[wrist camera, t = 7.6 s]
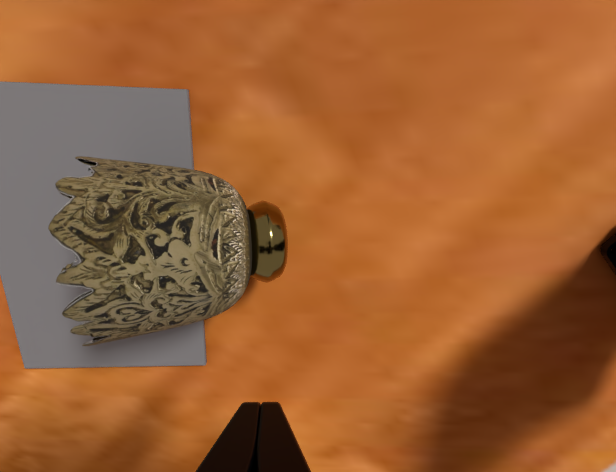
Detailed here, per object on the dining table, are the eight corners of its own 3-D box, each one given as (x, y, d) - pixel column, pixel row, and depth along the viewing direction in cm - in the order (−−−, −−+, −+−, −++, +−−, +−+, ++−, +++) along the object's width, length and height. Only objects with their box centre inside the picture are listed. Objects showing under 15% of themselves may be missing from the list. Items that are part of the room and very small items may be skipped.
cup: (265, 252, 22) (118, 260, 19) (273, 133, 17) (86, 127, 15) (291, 357, 16) (87, 386, 14) (313, 219, 12) (23, 229, 9)
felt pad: (188, 89, 16) (186, 89, 16) (206, 362, 21) (205, 365, 21) (-45, 80, 16) (-52, 79, 15) (28, 364, 21) (24, 368, 20)
